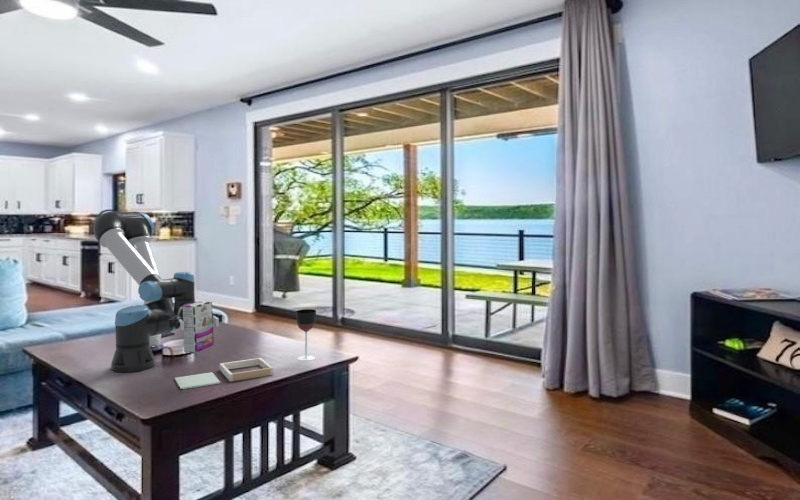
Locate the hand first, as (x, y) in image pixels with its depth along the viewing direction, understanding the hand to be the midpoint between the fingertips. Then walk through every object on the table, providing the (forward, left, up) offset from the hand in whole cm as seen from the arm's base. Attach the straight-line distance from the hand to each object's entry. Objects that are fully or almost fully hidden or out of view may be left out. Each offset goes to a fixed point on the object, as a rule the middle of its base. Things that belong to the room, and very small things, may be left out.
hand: (200, 324), depth 174 cm
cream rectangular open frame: (+18, +7, -22) cm, 29 cm away
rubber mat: (0, +5, -22) cm, 22 cm away
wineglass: (+45, +14, -22) cm, 51 cm away
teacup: (-8, +66, -22) cm, 70 cm away
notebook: (-9, +86, -22) cm, 89 cm away
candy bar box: (0, +4, -10) cm, 10 cm away
